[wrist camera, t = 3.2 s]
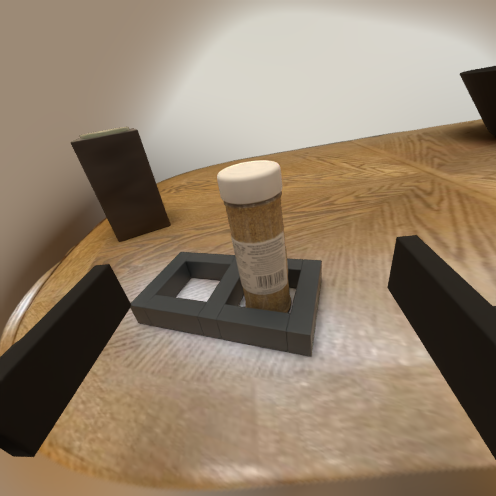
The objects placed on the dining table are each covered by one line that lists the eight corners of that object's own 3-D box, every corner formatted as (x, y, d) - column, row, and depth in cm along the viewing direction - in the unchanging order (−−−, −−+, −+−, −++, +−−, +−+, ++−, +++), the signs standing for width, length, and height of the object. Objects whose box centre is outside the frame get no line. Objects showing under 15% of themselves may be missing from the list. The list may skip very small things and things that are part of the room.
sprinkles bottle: (288, 287, 26) (276, 155, 19) (295, 320, 22) (284, 169, 15) (245, 292, 26) (219, 164, 19) (244, 326, 22) (211, 180, 16)
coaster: (78, 140, 35) (76, 136, 35) (83, 137, 41) (81, 134, 40) (130, 130, 37) (129, 126, 37) (128, 129, 43) (127, 126, 43)
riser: (118, 242, 42) (70, 142, 34) (117, 224, 49) (77, 138, 41) (170, 225, 45) (137, 129, 37) (162, 211, 52) (133, 128, 44)
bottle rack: (138, 323, 25) (128, 305, 24) (186, 267, 32) (180, 251, 31) (311, 356, 19) (310, 335, 18) (321, 279, 26) (321, 260, 25)
